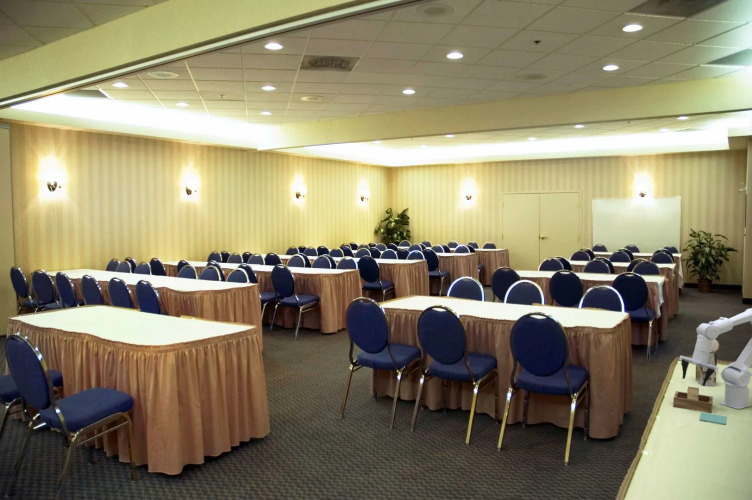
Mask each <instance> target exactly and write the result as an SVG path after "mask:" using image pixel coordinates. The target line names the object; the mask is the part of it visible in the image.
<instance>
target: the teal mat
mask: <svg viewBox="0 0 752 500" xmlns="http://www.w3.org/2000/svg"><path fill="white" fill-rule="evenodd" d="M699 421H700V422H706V423H711V424H718V425H723V426H726V425H727V416H726V415H721V414H720V415H719V414H713V413H708V412H702V411H700V415H699Z"/></svg>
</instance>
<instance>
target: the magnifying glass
mask: <svg viewBox="0 0 752 500" xmlns="http://www.w3.org/2000/svg"><path fill="white" fill-rule="evenodd" d="M720 346H721V343H720V341H719V340H718V339H717V338H716V339H713V343H712V347H711V350H712V351H714V352H715V353H717V352H718V351H719V350H720Z"/></svg>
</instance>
